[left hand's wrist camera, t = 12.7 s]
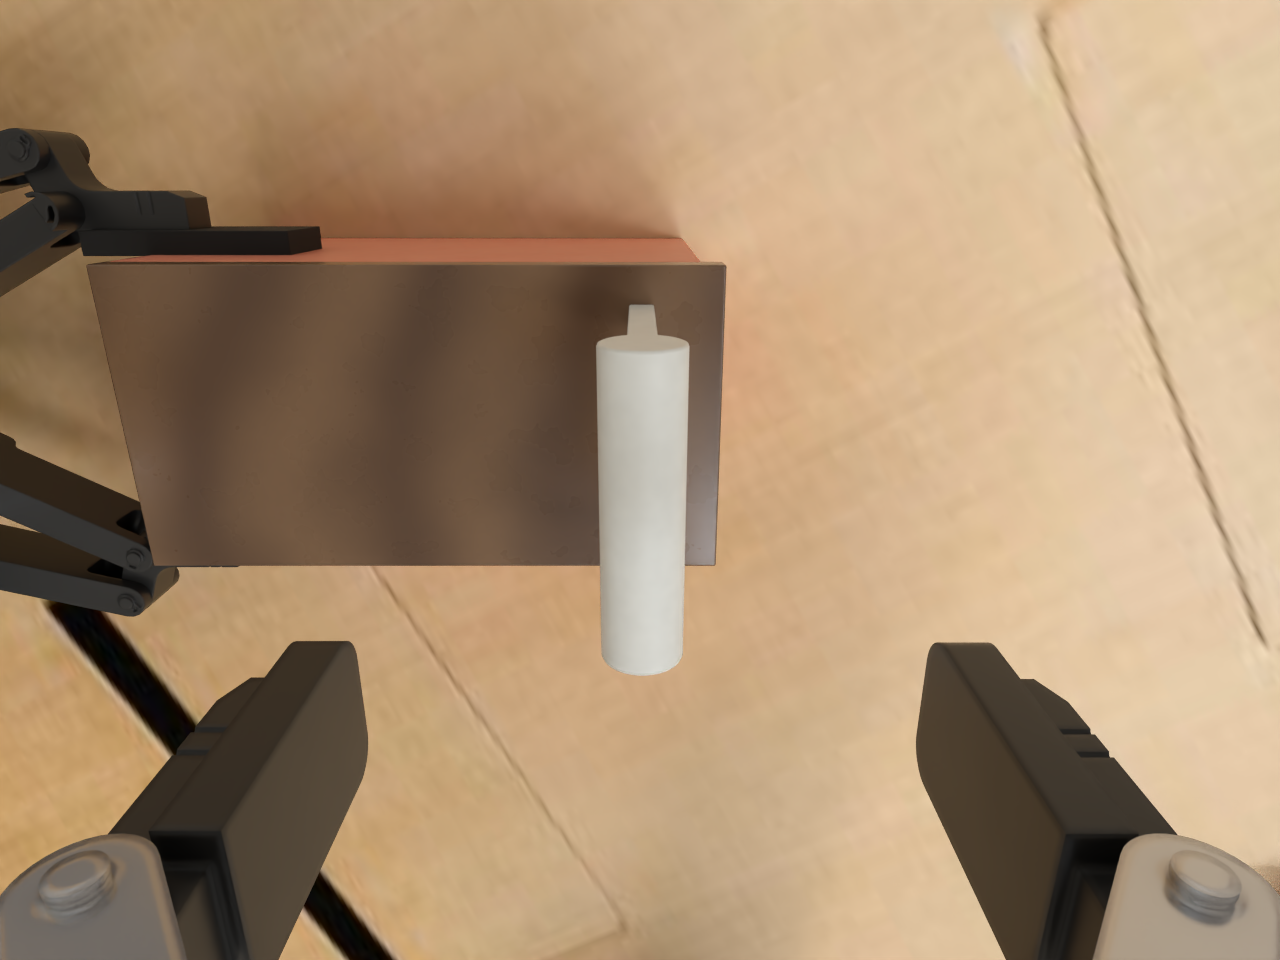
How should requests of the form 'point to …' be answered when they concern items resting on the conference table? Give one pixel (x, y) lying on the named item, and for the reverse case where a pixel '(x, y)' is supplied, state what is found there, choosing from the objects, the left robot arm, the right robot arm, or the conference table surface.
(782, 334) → the conference table surface
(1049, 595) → the conference table surface
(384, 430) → the lid
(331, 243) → the chest
